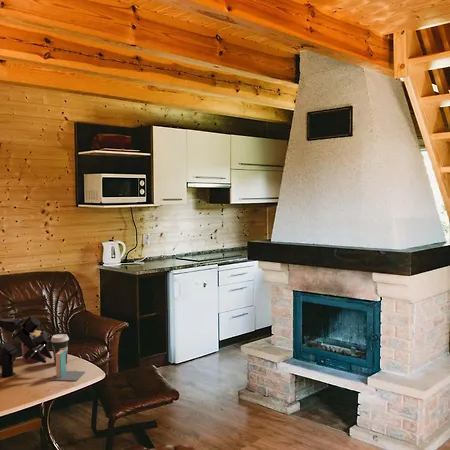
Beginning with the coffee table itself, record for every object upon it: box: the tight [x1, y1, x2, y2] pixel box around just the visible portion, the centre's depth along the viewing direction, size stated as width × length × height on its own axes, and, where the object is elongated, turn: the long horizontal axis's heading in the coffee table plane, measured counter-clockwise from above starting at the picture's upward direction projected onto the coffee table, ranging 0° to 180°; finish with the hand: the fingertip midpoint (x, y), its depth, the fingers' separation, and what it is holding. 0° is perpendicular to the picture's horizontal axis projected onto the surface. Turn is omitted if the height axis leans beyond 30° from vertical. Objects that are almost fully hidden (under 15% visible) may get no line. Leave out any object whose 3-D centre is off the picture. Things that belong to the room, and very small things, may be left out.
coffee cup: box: [50, 333, 70, 365], centre depth 293 cm, size 10×10×15 cm
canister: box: [21, 329, 47, 364], centre depth 299 cm, size 13×13×18 cm
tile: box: [55, 350, 67, 378], centre depth 273 cm, size 2×6×12 cm, turn 174°
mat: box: [50, 370, 86, 382], centre depth 273 cm, size 13×12×1 cm
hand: (48, 360), depth 273 cm, fingers open, 6 cm apart
